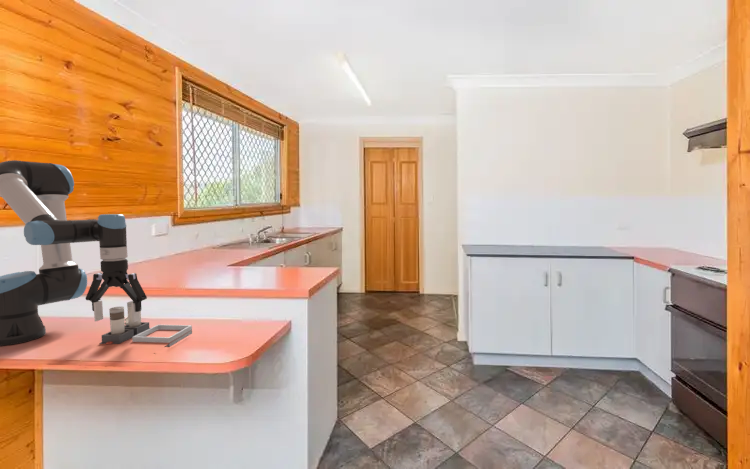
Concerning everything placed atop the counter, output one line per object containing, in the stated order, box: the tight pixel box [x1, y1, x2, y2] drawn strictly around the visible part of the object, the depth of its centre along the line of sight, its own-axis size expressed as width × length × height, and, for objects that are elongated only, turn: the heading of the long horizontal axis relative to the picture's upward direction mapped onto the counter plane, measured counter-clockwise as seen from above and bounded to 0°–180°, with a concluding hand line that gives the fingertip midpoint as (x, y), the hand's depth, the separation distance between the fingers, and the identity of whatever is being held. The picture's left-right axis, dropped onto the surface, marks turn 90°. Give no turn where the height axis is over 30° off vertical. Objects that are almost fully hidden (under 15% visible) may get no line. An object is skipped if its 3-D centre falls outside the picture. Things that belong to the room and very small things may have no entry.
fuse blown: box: [108, 306, 126, 335], centre depth 124 cm, size 4×4×11 cm
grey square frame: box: [131, 324, 193, 348], centre depth 129 cm, size 13×13×3 cm
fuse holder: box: [99, 321, 151, 345], centre depth 128 cm, size 7×16×4 cm, turn 176°
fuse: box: [126, 300, 142, 327], centre depth 132 cm, size 4×4×11 cm
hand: (117, 320), depth 124 cm, fingers open, 13 cm apart
